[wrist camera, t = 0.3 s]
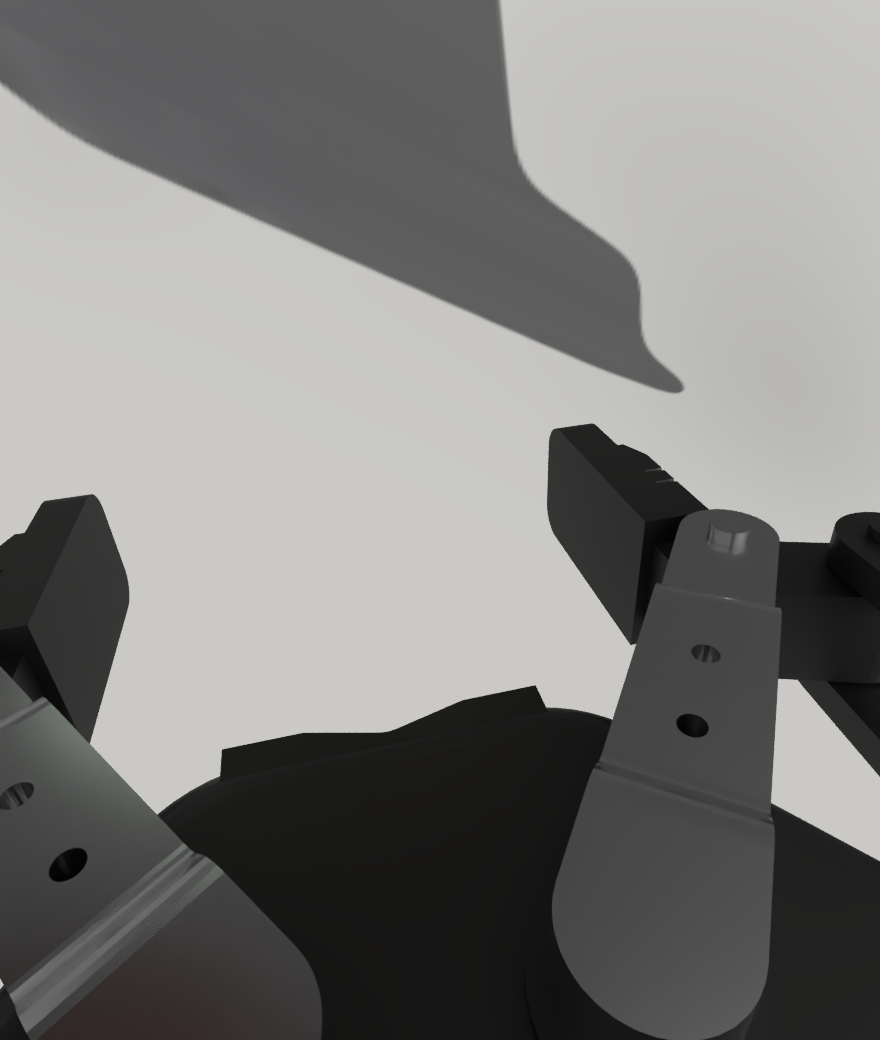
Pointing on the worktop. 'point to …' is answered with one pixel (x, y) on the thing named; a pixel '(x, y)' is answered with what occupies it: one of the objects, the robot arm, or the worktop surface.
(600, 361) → the worktop surface
